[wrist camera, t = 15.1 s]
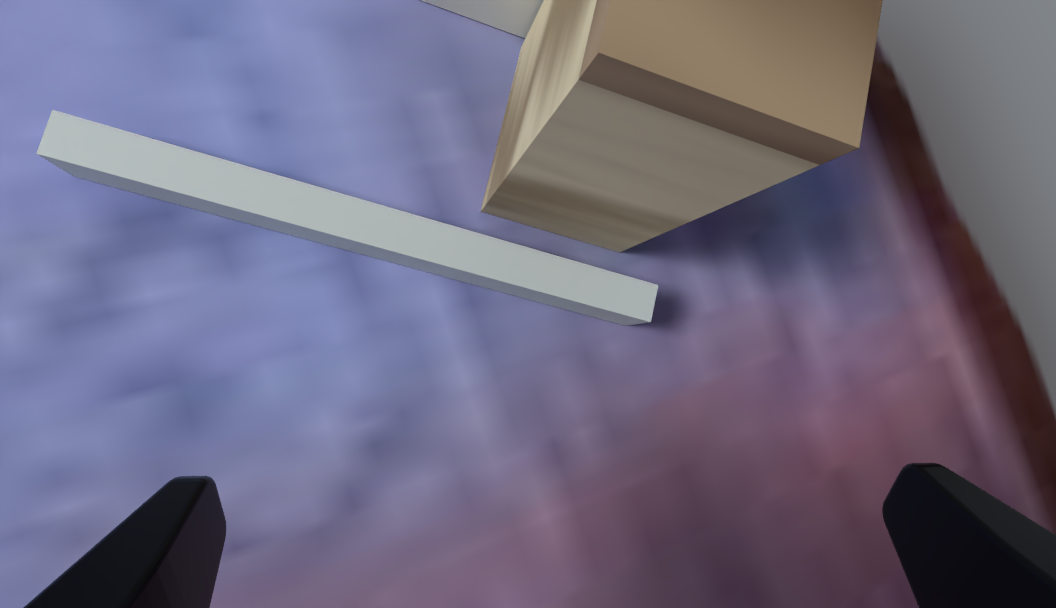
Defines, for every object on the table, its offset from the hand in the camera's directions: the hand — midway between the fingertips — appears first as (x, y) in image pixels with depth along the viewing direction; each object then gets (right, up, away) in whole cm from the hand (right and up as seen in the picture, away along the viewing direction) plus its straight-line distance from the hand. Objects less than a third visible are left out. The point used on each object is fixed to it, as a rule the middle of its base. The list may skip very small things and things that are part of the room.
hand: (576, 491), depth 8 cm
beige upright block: (+1, +8, +13) cm, 15 cm away
